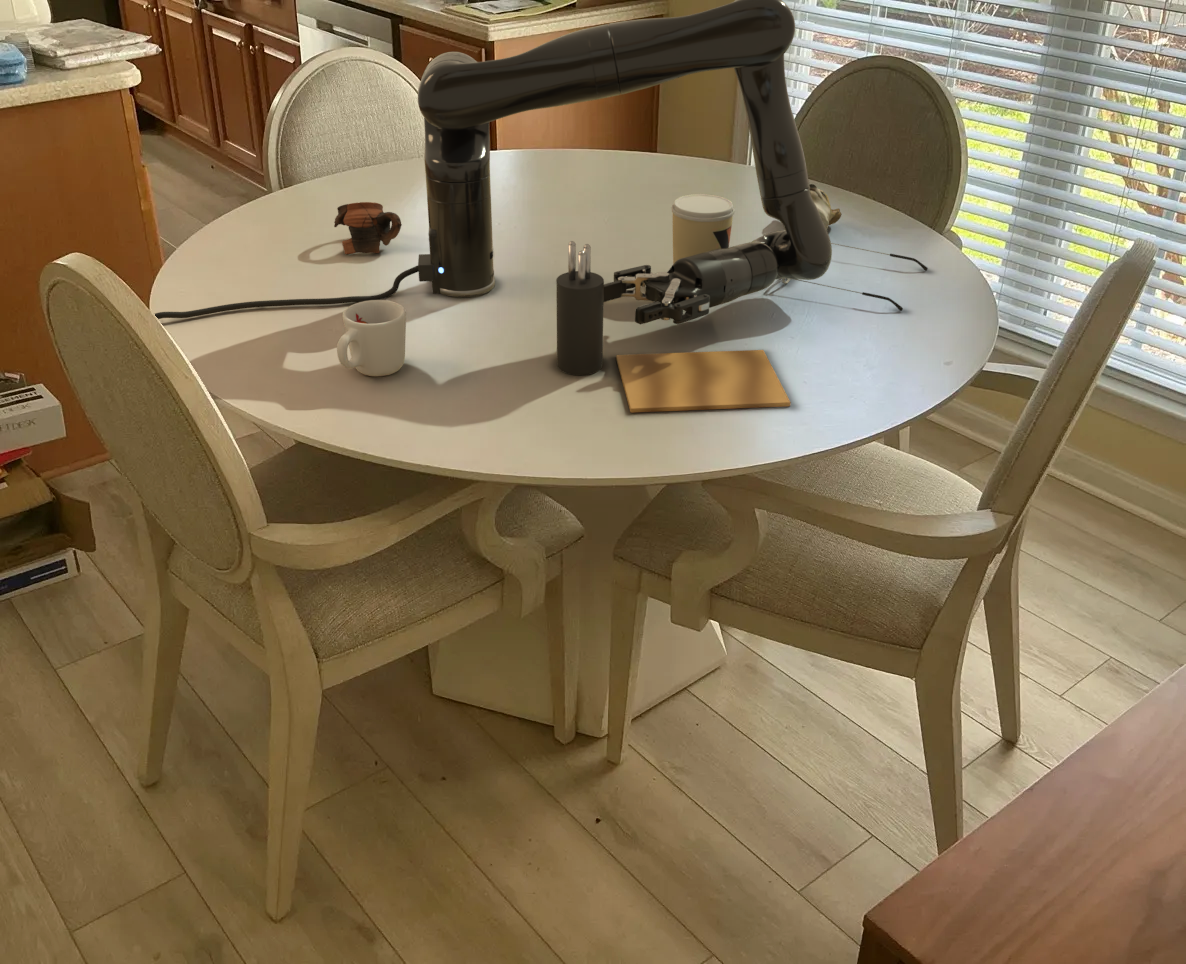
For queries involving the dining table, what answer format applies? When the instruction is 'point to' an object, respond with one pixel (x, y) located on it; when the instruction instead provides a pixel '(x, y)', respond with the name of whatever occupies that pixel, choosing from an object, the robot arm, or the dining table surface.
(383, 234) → the pottery mug
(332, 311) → the dining table surface
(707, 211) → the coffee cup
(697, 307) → the robot arm
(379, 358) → the cup
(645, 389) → the wooden board
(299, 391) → the dining table surface
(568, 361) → the cutlery holder
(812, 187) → the ceramic sculpture
